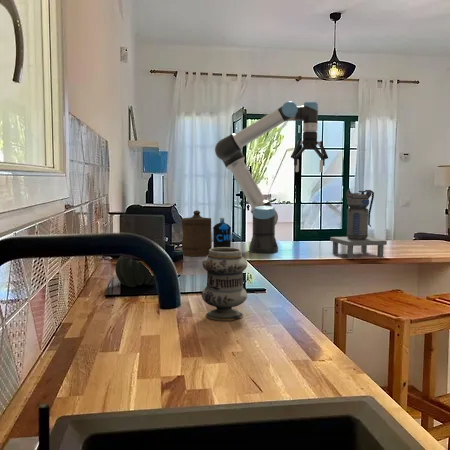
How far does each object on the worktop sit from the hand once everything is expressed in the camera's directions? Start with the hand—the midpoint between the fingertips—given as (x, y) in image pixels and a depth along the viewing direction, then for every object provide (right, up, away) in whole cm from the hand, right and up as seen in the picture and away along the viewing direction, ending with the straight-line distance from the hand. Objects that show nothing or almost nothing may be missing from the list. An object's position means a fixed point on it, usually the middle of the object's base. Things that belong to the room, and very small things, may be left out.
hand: (309, 172), depth 258 cm
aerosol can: (-46, -45, -42) cm, 77 cm away
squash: (-75, -49, -90) cm, 127 cm away
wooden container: (-59, -43, -17) cm, 75 cm away
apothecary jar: (-45, -53, -129) cm, 147 cm away
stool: (+21, -43, -17) cm, 51 cm away
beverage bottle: (+22, -35, -18) cm, 45 cm away
